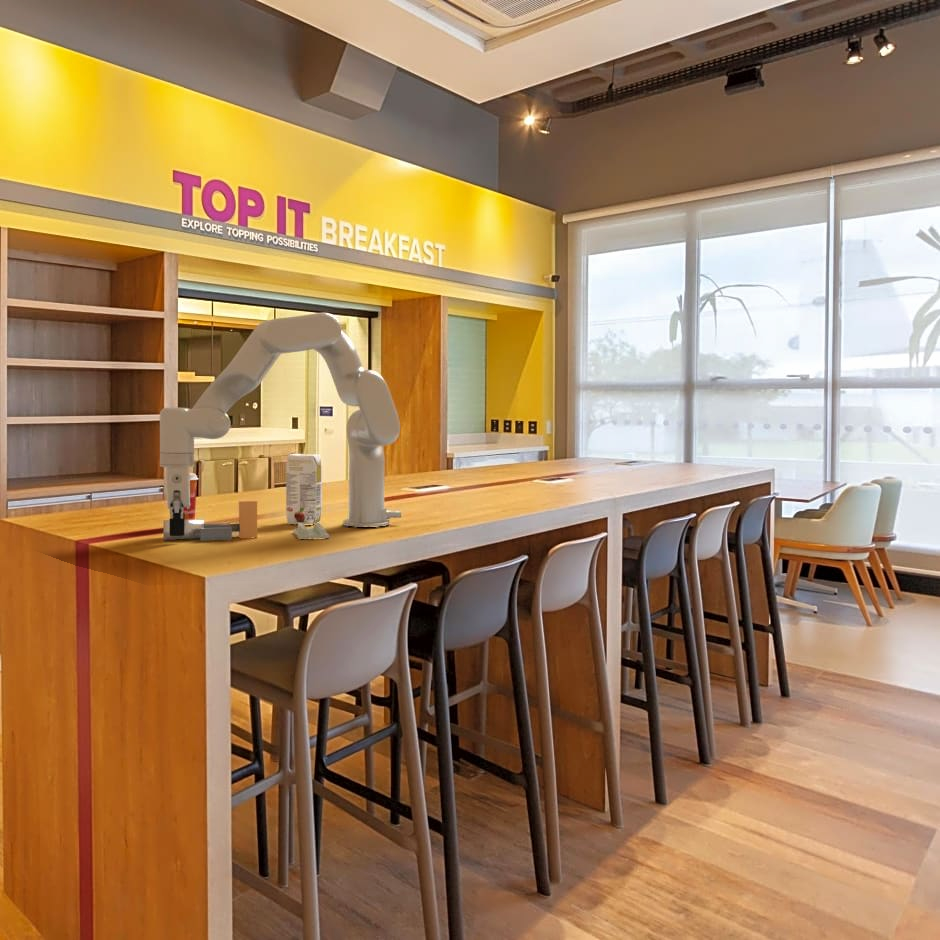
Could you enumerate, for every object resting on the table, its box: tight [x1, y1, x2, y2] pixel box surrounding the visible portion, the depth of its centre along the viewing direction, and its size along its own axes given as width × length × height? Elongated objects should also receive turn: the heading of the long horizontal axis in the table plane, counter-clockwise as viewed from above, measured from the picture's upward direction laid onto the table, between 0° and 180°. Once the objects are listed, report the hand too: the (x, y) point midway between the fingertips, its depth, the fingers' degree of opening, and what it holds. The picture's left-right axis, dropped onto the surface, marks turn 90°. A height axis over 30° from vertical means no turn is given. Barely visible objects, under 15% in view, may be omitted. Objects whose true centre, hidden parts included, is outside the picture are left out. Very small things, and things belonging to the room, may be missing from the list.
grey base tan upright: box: [205, 498, 258, 539], centre depth 190 cm, size 12×4×9 cm, turn 110°
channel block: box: [200, 522, 233, 542], centre depth 189 cm, size 7×8×3 cm
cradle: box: [293, 522, 330, 540], centre depth 195 cm, size 7×11×2 cm, turn 20°
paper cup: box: [169, 472, 199, 520], centre depth 203 cm, size 8×8×14 cm
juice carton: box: [285, 453, 323, 525], centre depth 214 cm, size 8×9×19 cm
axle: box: [162, 518, 205, 541], centre depth 187 cm, size 9×5×5 cm, turn 110°
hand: (177, 532), depth 186 cm, fingers open, 9 cm apart
